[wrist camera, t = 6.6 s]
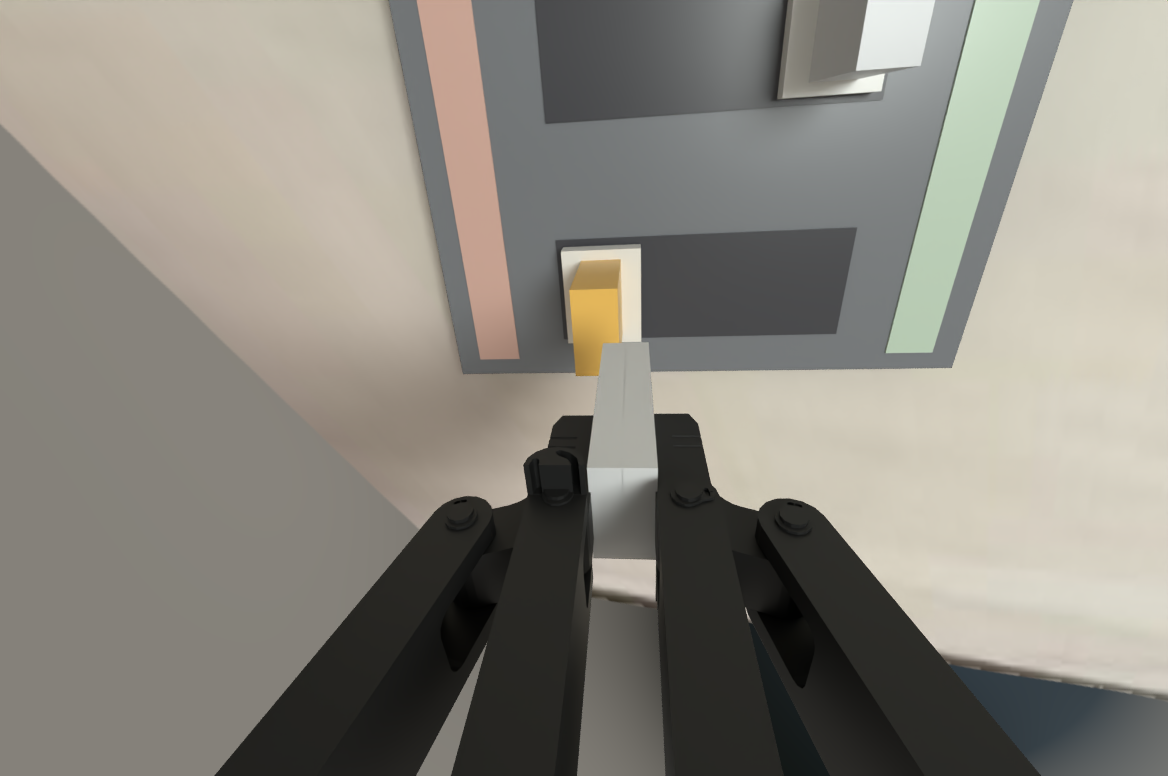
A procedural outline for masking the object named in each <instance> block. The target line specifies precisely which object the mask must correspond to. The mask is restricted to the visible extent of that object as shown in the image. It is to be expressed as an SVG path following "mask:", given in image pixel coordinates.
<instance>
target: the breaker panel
mask: <svg viewBox="0 0 1168 776" xmlns="http://www.w3.org/2000/svg"><path fill="white" fill-rule="evenodd" d="M1072 3H1073V0H389V5H390V10H391V15H392V20H393V25H394V30H395V35H396V40H397V45H398V50H399V55H400V60H401V65H402V70H403V75H404V80H405V85H406V90H407V95H408V100H409V105H410V110H411V115H412V120H413V125H414V130H415V135H416V140H417V145H418V150H419V155H420V160H421V165H422V170H423V175H424V180H425V185H426V190H427V195H428V200H429V205H430V210H431V215H432V220H433V225H434V230H435V235H436V240H437V245H438V250H439V255H440V260H441V265H442V270H443V276H444V281H445V286H446V291H447V296H448V301H449V306H450V311H451V316H452V321H453V326H454V331H455V336H456V341H457V346H458V351H459V356H460V361H461V366H462V371H463V374H493V373H575V358H574V345H573V343H568V333H567V321H566V309H565V296H564V284H563V272H562V260H561V250H562V249H563V247H581V246H605V245H629V244H641V342H649V356H650V369H651V372H657V371H738V370H820V369H901V368H952V365H953V362H954V359H955V356H956V353H957V350H958V347H959V344H960V341H961V338H962V335H963V332H964V329H965V326H966V323H967V320H968V317H969V314H970V311H971V308H972V305H973V302H974V299H975V296H976V293H977V290H978V287H979V284H980V281H981V278H982V275H983V272H984V269H985V266H986V263H987V260H988V257H989V254H990V251H991V248H992V245H993V242H994V239H995V236H996V233H997V230H998V227H999V224H1000V221H1001V217H1002V214H1003V211H1004V208H1005V205H1006V202H1007V199H1008V196H1009V193H1010V190H1011V187H1012V184H1013V181H1014V178H1015V175H1016V172H1017V169H1018V166H1019V163H1020V160H1021V157H1022V154H1023V151H1024V148H1025V145H1026V142H1027V139H1028V136H1029V133H1030V130H1031V127H1032V124H1033V121H1034V118H1035V115H1036V112H1037V109H1038V106H1039V103H1040V100H1041V97H1042V94H1043V91H1044V88H1045V85H1046V82H1047V79H1048V76H1049V73H1050V70H1051V67H1052V64H1053V61H1054V58H1055V55H1056V52H1057V49H1058V46H1059V43H1060V40H1061V37H1062V33H1063V30H1064V27H1065V24H1066V21H1067V18H1068V15H1069V12H1070V9H1071V6H1072ZM622 343H639V342H622Z"/></svg>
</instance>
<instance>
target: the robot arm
mask: <svg viewBox="0 0 1168 776" xmlns="http://www.w3.org/2000/svg"><path fill="white" fill-rule="evenodd" d="M523 466H524V473H525V479H526V486H527V492H528V496H527V498H525V499H524V500H522V501H520V502H518V503H515V504H512V505H508V506H504V507H500V508H495V509H492V508H491V505H490V504H489V503H488V502H487V501H486V500H484V499H481V498H479V497H472V496H465V497H460V498H456V499H453V500H451V501H449V502H447V503H445V504H443V505H442V506H441V507H440V508H438V509H437V510H436V511H435V512H434V513H433V515H432V516H431V517H430V518H429V519H428V520H427V522H426V523H425V524H424V525H423V526H422V528H421V529H420V530H419V531H418V533H417V534H416V535H415V536H414V537H413V538H412V540H411V541H410V542H409V543H408V544H407V546H406V547H405V548H404V549H403V550H402V552H401V553H400V554H399V555H398V556H397V558H396V559H395V560H394V561H393V563H392V564H391V565H390V566H389V567H388V568H387V570H386V571H385V572H384V573H383V575H382V576H381V577H380V578H379V579H378V581H377V582H376V583H375V584H374V585H373V586H372V588H371V589H370V590H369V591H368V592H367V594H366V595H365V596H364V597H363V598H362V600H361V601H360V602H359V603H358V604H357V606H356V607H355V608H354V609H353V610H352V612H351V613H350V614H349V615H348V616H347V618H346V619H345V620H344V621H343V622H342V624H341V625H340V626H339V627H338V628H337V630H336V631H335V632H334V633H333V634H332V636H331V637H330V638H329V639H328V640H327V641H326V643H325V644H324V645H323V646H322V648H321V649H320V650H319V651H318V652H317V654H316V655H315V656H314V657H313V658H312V659H311V661H310V662H309V663H308V664H307V666H306V667H305V668H304V669H303V670H302V671H301V673H300V674H299V675H298V676H297V678H296V679H295V680H294V681H293V682H292V684H291V685H290V686H289V687H288V688H287V689H286V691H285V692H284V693H283V694H282V696H281V697H280V698H279V699H278V700H277V701H276V703H275V704H274V705H273V706H272V707H271V709H270V710H269V711H268V712H267V714H266V715H265V716H264V717H263V718H262V719H261V721H260V722H259V723H258V724H257V725H256V727H255V728H254V729H253V730H252V731H251V733H250V734H249V735H248V736H247V737H246V739H245V740H244V741H243V742H242V743H241V745H240V746H239V747H238V748H237V749H236V751H235V752H234V753H233V754H232V755H231V756H230V758H229V759H228V760H227V761H226V763H225V764H224V765H223V766H222V767H221V768H220V770H219V771H218V772H217V773H216V774H215V776H416V774H417V773H418V771H419V769H420V767H421V765H422V763H423V762H424V759H425V758H426V756H427V754H428V752H429V750H430V748H431V746H432V745H433V743H434V741H435V739H436V737H437V735H438V733H439V731H440V730H441V728H442V726H443V724H444V722H445V720H446V718H447V716H448V715H449V712H450V711H451V709H452V707H453V705H454V703H455V701H456V700H457V698H458V696H459V694H460V692H461V690H462V688H463V686H464V684H465V683H466V681H467V678H468V677H469V675H470V673H471V671H472V669H473V668H474V666H475V664H476V662H477V660H478V658H479V656H480V654H481V653H482V651H483V649H484V647H485V645H486V643H487V646H486V650H485V654H484V657H483V661H482V664H481V668H480V672H479V675H478V679H477V683H476V686H475V690H474V694H473V697H472V701H471V705H470V708H469V712H468V716H467V719H466V723H465V727H464V730H463V734H462V738H461V741H460V745H459V749H458V752H457V756H456V760H455V763H454V767H453V771H452V774H451V776H577V768H578V756H579V743H580V731H581V719H582V707H583V693H584V682H585V670H586V657H587V644H588V633H589V621H590V608H591V596H592V584H593V570H592V555H593V558H611V559H651V560H656V601H657V610H658V631H659V649H660V650H659V651H660V671H661V692H662V712H663V732H664V751H665V752H664V753H665V774H666V776H783V772H782V767H781V763H780V759H779V754H778V750H777V745H776V741H775V737H774V732H773V728H772V724H771V719H770V715H769V710H768V706H767V702H766V697H765V693H764V689H763V684H762V680H761V676H760V671H759V667H758V663H757V658H756V654H755V649H754V645H753V640H752V636H751V632H750V628H749V623H748V619H747V614H746V610H745V607H746V609H747V613H748V615H749V617H750V619H751V621H752V623H753V625H754V626H755V629H756V630H757V632H758V635H759V637H760V638H761V640H762V642H763V644H764V646H765V648H766V650H767V652H768V654H769V656H770V658H771V660H772V662H773V664H774V666H775V668H776V670H777V672H778V674H779V675H780V678H781V680H782V682H783V683H784V686H785V688H786V690H787V692H788V693H789V696H790V698H791V699H792V701H793V703H794V705H795V707H796V709H797V711H798V713H799V715H800V717H801V719H802V721H803V723H804V725H805V727H806V729H807V731H808V733H809V735H810V737H811V739H812V741H813V743H814V745H815V747H816V749H817V751H818V752H819V755H820V756H821V758H822V760H823V762H824V764H825V766H826V768H827V770H828V772H829V774H830V776H1041V775H1040V774H1039V773H1038V772H1037V770H1036V769H1035V768H1034V767H1033V766H1032V764H1031V763H1030V762H1029V761H1028V760H1027V758H1026V757H1025V756H1024V755H1023V754H1022V752H1021V751H1020V750H1019V749H1018V748H1017V746H1016V745H1015V744H1014V743H1013V742H1012V740H1011V739H1010V738H1009V737H1008V736H1007V734H1006V733H1005V732H1004V731H1003V730H1002V728H1000V726H999V725H998V724H997V722H996V721H995V720H994V719H993V718H992V716H991V715H990V714H989V713H988V712H987V710H986V709H985V708H984V707H983V706H982V704H981V703H980V702H979V701H978V700H977V699H976V697H975V696H974V695H973V694H972V692H971V691H970V690H969V689H968V688H967V686H966V685H965V684H964V683H963V682H962V680H961V679H960V678H959V677H958V676H957V674H956V673H955V672H954V671H953V670H952V668H951V667H950V666H949V665H948V664H947V662H946V661H945V660H944V659H943V658H942V656H941V655H940V654H939V653H938V652H937V650H936V649H935V648H934V647H933V646H932V644H931V643H930V642H929V641H928V640H927V638H926V637H925V636H924V635H923V634H922V632H921V631H920V630H919V629H918V628H917V626H916V625H915V624H914V623H913V622H912V620H911V619H910V618H909V617H908V616H907V614H906V613H905V612H904V611H903V610H902V608H901V607H900V606H899V605H898V604H897V602H896V601H895V600H894V599H893V598H892V596H891V595H890V594H889V593H888V592H887V591H886V589H885V588H884V587H883V586H882V585H881V583H880V582H879V581H878V580H877V579H876V577H875V576H874V575H873V574H872V573H871V571H870V570H869V569H868V568H867V567H866V565H865V564H864V563H863V562H862V561H861V559H860V558H859V557H858V556H857V555H856V553H855V552H854V551H853V550H852V549H851V547H850V546H849V545H848V544H847V543H846V541H845V540H844V539H843V538H842V537H841V535H840V534H839V533H838V532H837V531H836V529H835V528H834V527H833V526H832V525H831V523H830V522H829V521H828V520H827V519H826V517H825V516H824V515H823V514H821V513H820V512H819V511H818V510H817V509H816V508H814V507H812V506H810V505H808V504H806V503H804V502H802V501H798V500H793V499H774V500H771V501H768V502H766V503H765V504H764V505H763V506H762V507H761V508H760V509H759V511H756V510H752V509H748V508H744V507H740V506H737V505H734V504H732V503H730V502H728V501H726V500H724V499H723V498H722V497H720V496H719V494H718V492H717V490H716V489H715V488H714V487H713V486H712V484H711V481H710V477H709V472H708V468H707V463H706V458H705V454H704V449H703V445H702V440H701V435H700V431H699V426H698V423H697V422H696V421H695V420H694V419H693V418H692V417H691V416H690V415H689V414H654V409H653V396H652V382H651V369H650V356H649V342H639V343H603V347H602V354H601V362H600V370H599V378H598V385H597V393H596V401H595V409H594V416H562V417H561V418H560V419H559V420H558V421H557V422H556V423H555V424H554V426H553V429H552V433H551V437H550V440H549V444H548V448H545V449H543V450H540V451H537V452H535V453H534V454H532V455H531V456H530V457H528V458H527V460H526V462H525V463H524V465H523ZM487 641H488V642H487Z"/></svg>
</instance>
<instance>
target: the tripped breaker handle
mask: <svg viewBox="0 0 1168 776" xmlns="http://www.w3.org/2000/svg"><path fill="white" fill-rule="evenodd" d="M561 260H562V272H563V284H564V296H565V309H566V321H567V333H568V343H573V345H574V358H575V372H576V376H599V370H600V362H601V354H602V347H603V343H622V342H641V244H629V245H605V246H581V247H563V249H562V250H561Z"/></svg>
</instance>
